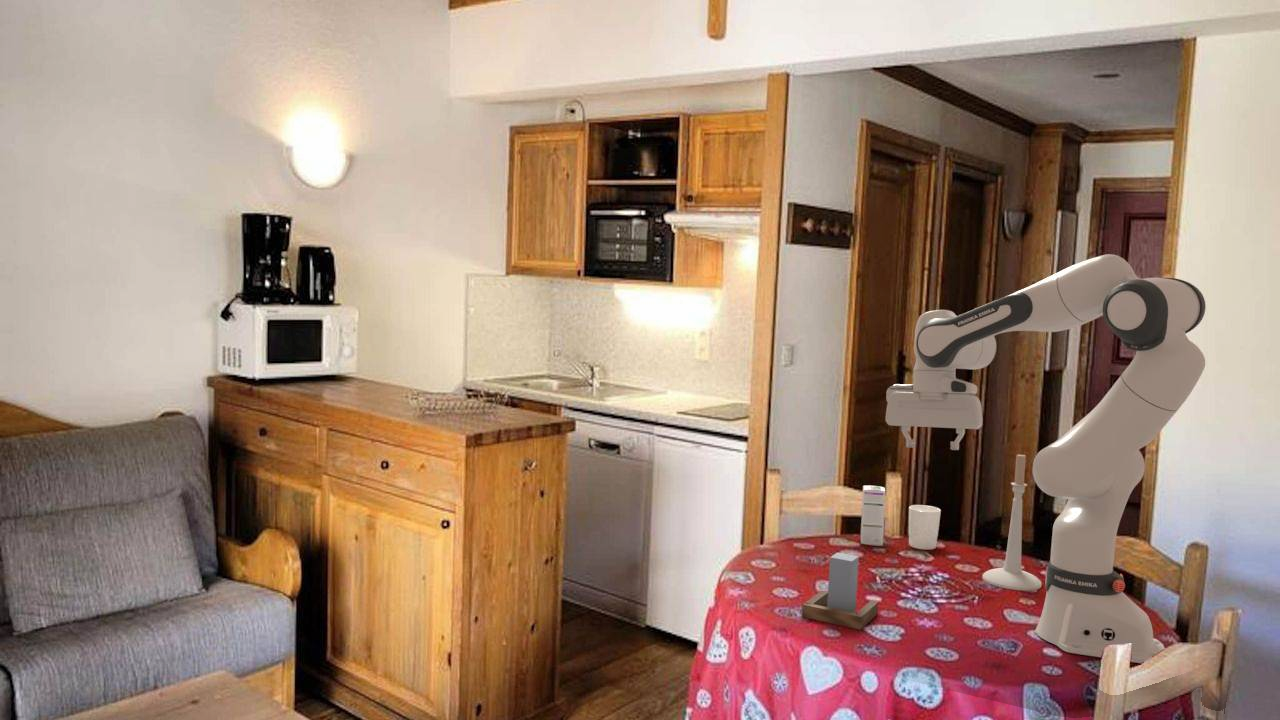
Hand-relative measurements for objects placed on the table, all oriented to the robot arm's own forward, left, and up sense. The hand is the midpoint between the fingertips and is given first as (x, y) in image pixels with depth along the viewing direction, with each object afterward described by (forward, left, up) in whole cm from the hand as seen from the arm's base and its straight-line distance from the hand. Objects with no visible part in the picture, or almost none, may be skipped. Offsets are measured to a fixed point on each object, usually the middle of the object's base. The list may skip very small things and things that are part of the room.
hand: (932, 448), depth 213 cm
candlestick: (-15, -21, -32) cm, 41 cm away
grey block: (+10, +26, -32) cm, 42 cm away
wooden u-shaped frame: (+10, +26, -32) cm, 43 cm away
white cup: (+10, -39, -32) cm, 52 cm away
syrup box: (+22, -34, -32) cm, 52 cm away
